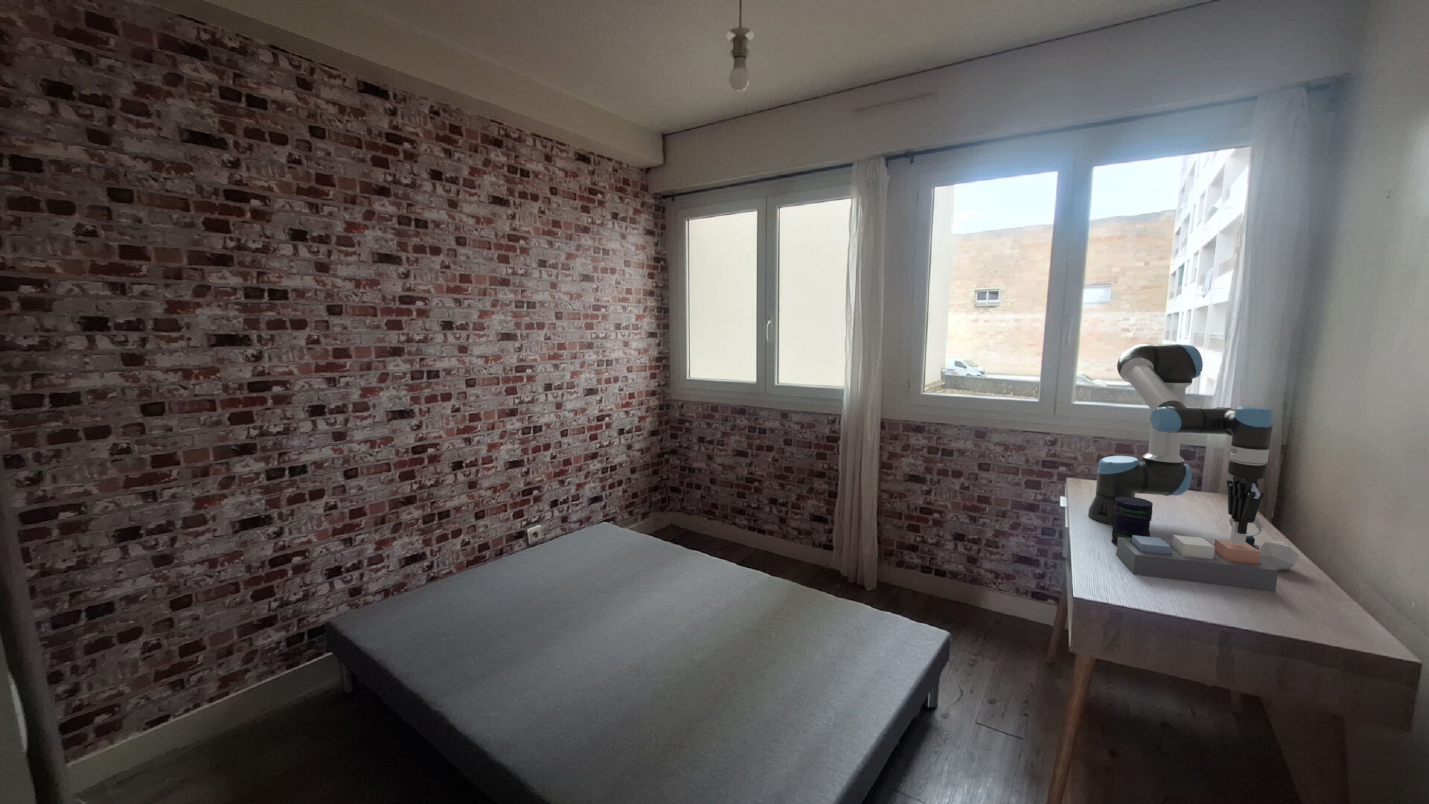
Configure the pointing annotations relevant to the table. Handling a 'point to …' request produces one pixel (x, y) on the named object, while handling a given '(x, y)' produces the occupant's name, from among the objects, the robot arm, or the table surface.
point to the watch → (1249, 536)
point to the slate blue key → (1151, 544)
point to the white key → (1193, 547)
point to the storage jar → (1131, 517)
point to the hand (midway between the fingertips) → (1237, 542)
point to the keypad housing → (1197, 568)
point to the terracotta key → (1236, 552)
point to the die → (1278, 555)
